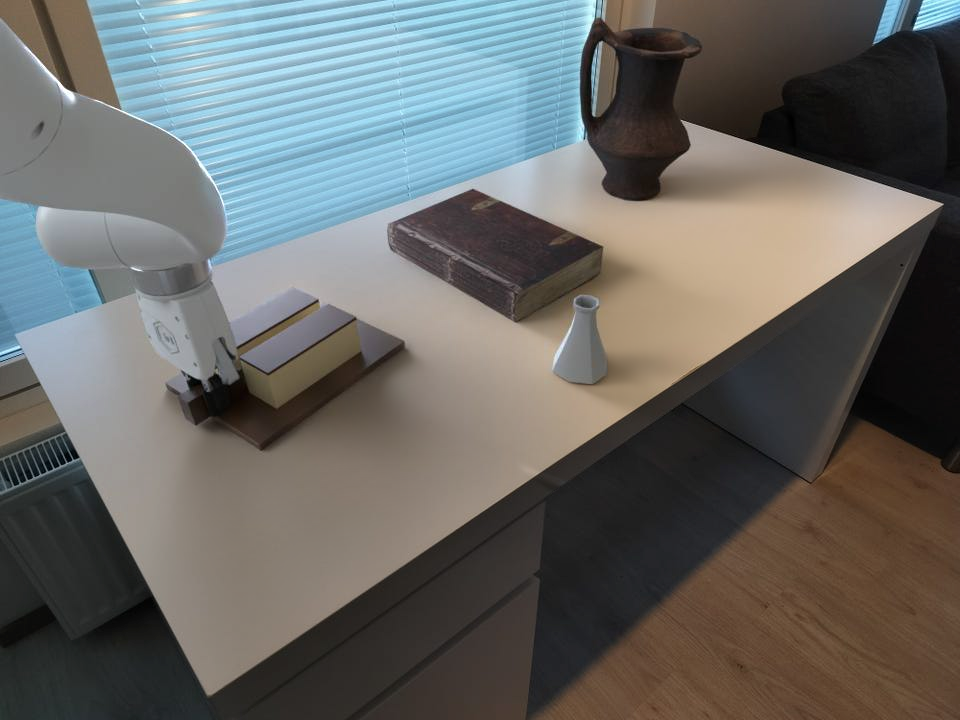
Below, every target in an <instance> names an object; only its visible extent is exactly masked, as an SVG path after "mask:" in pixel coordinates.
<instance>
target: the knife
mask: <svg viewBox="0 0 960 720" xmlns="http://www.w3.org/2000/svg"><path fill="white" fill-rule="evenodd" d="M236 371H237V373H238V375H239V377H240V379H239V380H237V381H236V382H234V383H232V384H231V385H230V387H231V390H232V393H233V397H234V400H235V401H236V400H237V399H239V398H240V397H242V396H243V395H245V394H246V392H245V388H247V387H248V386H247V383H246V379H245V376H244V372H243V369H242V366H240V367H239V368H237V369H236ZM217 373H218V372H217ZM215 374H216V373H215ZM211 377H212V376H211ZM211 377H210V378H211ZM203 388H204V387H203V384H202V382H200V383H199V384H197V385H195V386H193V387H192V388H190V389H188V390H187V391H185V392H183V393H182V394H180V395H178V396H177V395H176V396H177V400H178V402H179V405H180V407H181V411H182V413H183V416H184V419H185V420H186V421H187V422H189V423H191V424H192V425H194V426H196V427H198V425H200V424H201V423H203V422H205V421H206V420H207V419H209V418H211V416H210V415H209V412H208V410H207V407H206V404H205V401H204V398H203V395H202V392H201V390H202V389H203Z"/></svg>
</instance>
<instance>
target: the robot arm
mask: <svg viewBox="0 0 960 720" xmlns="http://www.w3.org/2000/svg"><path fill="white" fill-rule="evenodd" d="M0 200H4V201H9V202H13V203H19V204H25V205H30V206H35V207H38V208H37V211H36V217H35V230H36V235H37V238H38V241H39V244H40V246H41V248H42V249H43V251H44V252H45V253H46V254H47V255H48V256H49V257H50V258H51V260H53V261H55V262H57V263H58V264H60V265H62V266H64V267H67V268H71V269H76V270H77V269H78V270H104V269H121V268H122V269H123V268H125V269H127V270H128V273H129V276H130V280H131V282H132V284H133V287H134V289H135V295H136V299H137V303H138V308H139V310H140V315H141V317H142V321H143V325H144V327H145V330H146V335H147V336H148V339H149V342H150V345H151V348H152V350H153V351H154V352H155V354H157V355H158V356H159V357H161V358H162V359H163V360H165V361H166V362H168V363H169V364H171V365H172V366H174V367H175V368H177V369H179V370H180V373H182V374H183V376H184V377H185V378H186V379H188V378H190V379H188V380H187V381H186V382H187V385H188V388H189V389H190V388H192V387H193V386H195V385H197V384H199V383H200V382H202V384H203V387H204V388H203V389H202V390H201V392H202V395H203V398H204V401H205V404H206V407H207V410H208V412H209V415H210V416H212V417H216V416H217V415H219V414H221V413H222V412H224V411H225V410H227V409H228V408H230V407H231V406H233V405H234V404H235V400H234V397H233V393H232V390H231V387H230V385H231V384H232V383H234V382H236V381H237V380H239V379H240V377H239V375H238V373H237V371H236V369H235V367H234V365H233V363H232V362H237V359H238V353H237V348H236V344H235V340H234V336H233V333H232V330H231V327H230V324H229V322H230V321H229V319H228V316H227V313H226V310H225V308H224V305H223V302H222V300H221V298H220V295H219V293H218V291H217V288H216V286H215V285H214V282H213V281H212V280H213V278H214V271H213V268H212V264H211V261H210V260H211V259H213V258H214V257H216V256H217V255H218V254H219V253H220V252H221V250H222V249H223V247H224V246H225V242H226V240H227V236H228V215H227V212H226V207H225V204H224V200H223V198H222V196H221V193H220V191H219V190H218V187H217V185H216V183H215V182H214V180H213V179H212V177H211V176H210V174H209V172H208V171H207V170H206V168H205V166H203V164H202V162H201V161H200V159H199V158H198V157H197V156H196V154H195V153H194V152H193V151H192V149H191V148H190V147H189V146H188V145H187V144H186V143H185V142H184V141H182V140H181V139H180V138H178V137H176V136H175V135H174V134H172V133H171V132H169V131H167V130H165V129H163V128H161V127H159V126H158V125H155V124H153V123H151V122H148V121H146V120H144V119H141V118H139V117H136V116H134V115H132V114H130V113H127V112H126V111H123V110H120V109H118V108H115V107H114V106H111V105H109V104H106V103H104V102H102V101H99V100H97V99H94V98H91V97H89V96H86V95H84V94H80V93H77V92H75V91H72V90H70V89H67V88H65V86H64V85H62V84H61V82H60V81H59V80H58V79H57V78H56V77H55V76H54V74H53V73H52V72H51V71H50V70H49V69H48V68H47V67H46V66H45V65H44V64H43V63H42V61H40V60H39V58H38V57H37V56H36V55H35V54H34V53H33V51H32V50H31V49H29V47H28V46H27V45H26V44H25V43H24V42H23V41H22V40H21V38H19V37H18V35H17V34H16V33H15V32H14V31H13V29H11V28H10V26H8V24H7V23H6V22H5V21H4V20H3V19H2V18H1V17H0ZM217 368H218V373H216V374H214V371H215V369H217ZM211 376H212V377H211ZM210 377H211V378H210Z"/></svg>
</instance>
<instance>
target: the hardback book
mask: <svg viewBox="0 0 960 720" xmlns="http://www.w3.org/2000/svg"><path fill="white" fill-rule="evenodd" d="M386 232H387V234H386V235H387V243H388V247H389V249H390V251H392V252H394V253H396V254H398V255H399V256H400V257H402V258H404V259H405V260H408V261H410V262H411V263H412V264H415V265H417V266H418V267H419V268H422V269H423V270H425V271H426V272H428V273H430V274H432V275H434V276H435V277H437V278H438V279H441V280H442V281H444V282H445V283H447V284H449V285H451V286H453V287H454V288H455V289H458V290H459V291H461V292H463V293H464V294H466V295H468V296H469V297H472V298H473V299H474V300H476V301H478V302H480V303H481V304H483V305H485V306H487V307H488V308H490V309H492V310H494V311H495V312H497V313H499V314H500V315H502V316H503V317H506V318H507V319H509V320H511V321H513V322H514V323H518V322H519V321H521V320H523V319H524V318H526V317H528V316H529V315H531V314H533V313H535V312H537V311H538V310H540V309H541V308H543V307H545V306H547V305H548V304H550V303H552V302H554V301H555V300H557V299H558V298H561V297H562V296H564V295H566V294H568V293H569V292H570V291H573V290H574V289H576V288H577V287H579V286H581V285H583V284H584V283H586V282H588V281H590V280H591V279H593V278H595V277H597V276H598V275H600V274H601V271H602V264H603V263H602V262H603V254H604V246H603V245H601V244H599V243H596V242H594V241H593V240H590V239H587V238H585V237H584V236H581V235H578V234H576V233H574V232H572V231H570V230H567V229H565V228H563V227H561V226H558V225H556V224H554V223H551V222H549V221H547V220H545V219H542V218H541V217H538V216H535V214H534V215H533V214H531V213H529V212H527V211H525V210H522V209H520V208H518V207H515V206H514V205H511V204H508V203H506V202H504V201H502V200H499V198H496V197H493V196H491V195H488V194H487V193H484V192H481V191H479V190H477V189H475V188H470V189H469V190H466V191H464V192H462V193H459V194H456V195H454V196H452V197H449V198H447V199H445V200H441V201H440V202H438V203H434V204H432V205H429V206H428V207H425V208H423V209H421V210H418V211H416V212H413V213H411V214H408V215H406V216H403V217H400V218H399V219H396V220H394V221H392V222H388V224H387V230H386Z"/></svg>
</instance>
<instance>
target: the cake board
mask: <svg viewBox="0 0 960 720" xmlns="http://www.w3.org/2000/svg"><path fill="white" fill-rule="evenodd" d="M319 304H320V308H322V307H324V306H325V305H327V304H328V303H327V304H326V303H324V302H322V301H321V300H319ZM357 325H358V332H359V339H360V346H361V352H359V353H358V354H356V355H355V356H353V357H352V358H350V359H349V360H347V361H346V362H345V363H343V364H342V365H340V366H339V367H337V368H336V369H334V370H333V371H331V372H330V373H328V374H327V375H326V376H324V377H323V378H321V379H320V380H318V381H317V382H315V383H314V384H312V385H311V386H309V387H308V388H307V389H305V390H304V391H302V392H301V393H299V394H298V395H296V396H295V397H293V398H292V399H290V400H289V401H288V402H286V403H285V404H283V405H282V406H280V407H279V408H277V409H276V408H274V407H273V406H271V405H269V404H268V403H266V402H264V401H263V400H261V399H260V398H258V397H256V396H255V395H253V394H251V393H250V392H249V390H248V387H247V388H245V392H246V394H245V395H243V396H242V397H240V398H239V399H237V400H236V401H235V404H234V405H233V406H231V407H230V408H228V409H227V410H225V411H224V412H222V413H221V414H219V415H217V416H216V417H212V416H211V417H210V419H212V420H214V421H215V422H217V423H218V424H220V425H221V426H223V428H226V429H227V430H229V431H230V432H232V433H233V434H235V435H236V436H238V437H239V438H241V439H242V440H244V441H245V442H247V443H248V444H250V445H251V446H253V447H254V448H256V449H257V450H259V451H263V450H264V449H265V448H267V447H268V446H269V445H271V444H272V443H274V442H275V441H276V440H278V439H279V438H280V437H282V436H283V435H285V434H286V433H288V432H289V431H290V430H292V429H293V428H294V427H296V426H297V425H298V424H300V423H301V422H302V421H305V419H307V418H308V417H310V416H312V414H314V413H315V412H317V411H318V410H319V409H321V408H322V407H323V406H325V405H327V404H328V403H329V402H331V401H332V400H333V399H335V398H336V397H338V396H339V395H340V394H342V393H343V392H344V391H346V390H347V389H348V388H350V387H351V386H353V385H354V384H355V383H357V382H358V381H360V380H361V379H362V378H364V377H365V376H367V375H368V374H370V373H371V372H373V371H374V370H376V368H378V367H380V365H382V364H383V363H385V362H386V361H387V360H389V359H390V358H391V357H393V356H395V355H396V354H397V353H399V352H400V351H402V350H403V349H404V348H406V344H405V343H406V342H405V340H403V339H401V338H399V337H397V336H394V335H392V334H391V333H388V332H386V331H384V330H381V329H379V328H377V327H375V326H374V325H371V324H369V323H366V322H365V321H364V320H363V321H362V320H361V319H358V318H357ZM215 373H217V372H215V371H214V374H215ZM188 379H190V378H188ZM188 379H186V378H185V377H184V376H183V374H182V372H180V373H179V374H177V375H176V376H174V377H172V378H170V379H169V380H167V381H165V382H164V384H165V388H166V389H167V390H168V391H170V392H172V394H174V395H176V396H178V395H180V394H182V393H183V392H185V391H187V390H188V389H189V388H188V385H187V382H186V381H187V380H188Z"/></svg>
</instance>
